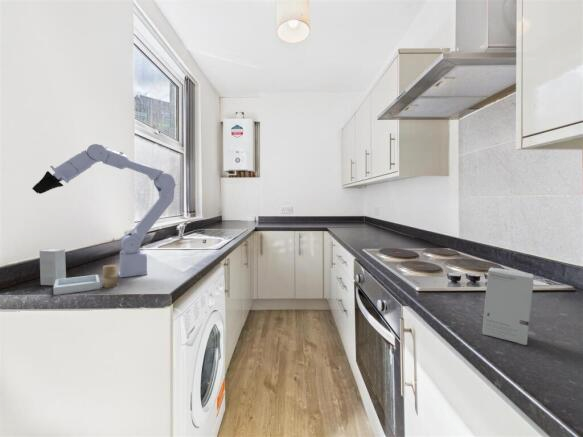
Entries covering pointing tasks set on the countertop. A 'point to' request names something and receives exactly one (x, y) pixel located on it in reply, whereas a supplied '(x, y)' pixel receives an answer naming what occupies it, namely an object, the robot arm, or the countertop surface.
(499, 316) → the skincare box
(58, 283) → the tray
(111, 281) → the birch cylinder
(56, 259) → the skincare box
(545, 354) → the countertop surface
